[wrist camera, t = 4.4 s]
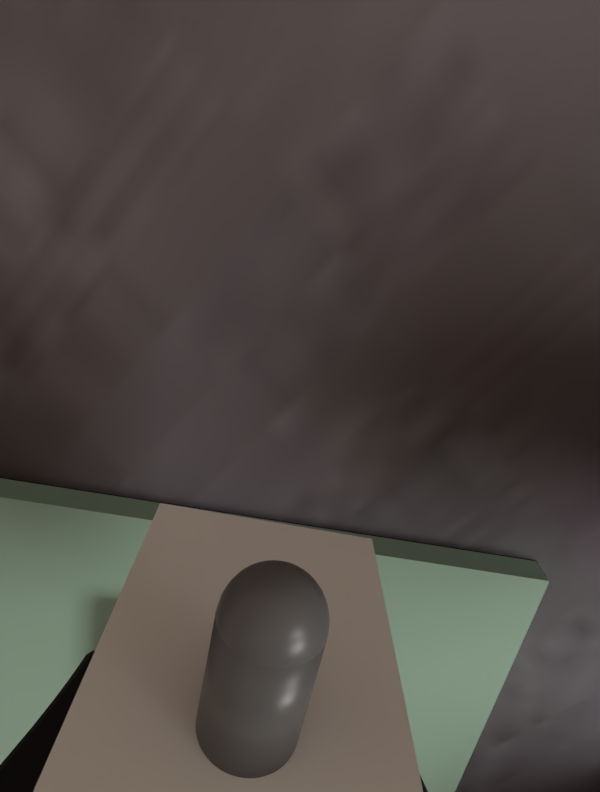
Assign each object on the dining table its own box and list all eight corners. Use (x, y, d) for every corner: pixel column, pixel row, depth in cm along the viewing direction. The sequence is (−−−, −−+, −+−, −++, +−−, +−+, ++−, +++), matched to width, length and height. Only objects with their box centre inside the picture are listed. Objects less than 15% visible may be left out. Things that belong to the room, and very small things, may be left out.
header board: (537, 561, 19) (570, 615, 16) (418, 836, 25) (430, 905, 22) (-44, 471, 17) (-97, 515, 15) (-24, 785, 23) (-59, 851, 21)
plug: (403, 435, 9) (559, 818, 4) (298, 779, 13) (298, 1254, 7) (173, 393, 9) (-37, 740, 3) (129, 756, 12) (-13, 1231, 7)
